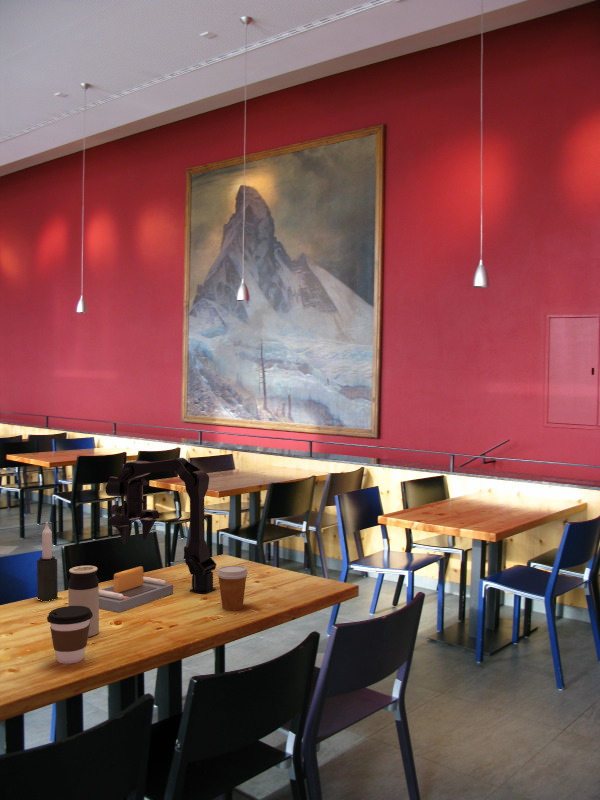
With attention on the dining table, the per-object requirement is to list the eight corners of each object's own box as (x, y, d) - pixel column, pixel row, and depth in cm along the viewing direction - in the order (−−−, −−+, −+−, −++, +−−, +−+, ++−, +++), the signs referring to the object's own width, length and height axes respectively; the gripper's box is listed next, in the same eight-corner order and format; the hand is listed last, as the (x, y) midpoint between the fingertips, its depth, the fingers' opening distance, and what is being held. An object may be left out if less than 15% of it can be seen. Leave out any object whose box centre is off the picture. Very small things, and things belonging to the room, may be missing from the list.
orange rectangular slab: (143, 584, 241) (143, 566, 241) (118, 592, 232) (118, 573, 232) (138, 583, 242) (138, 565, 242) (113, 591, 233) (113, 573, 233)
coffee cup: (55, 670, 177) (54, 620, 177) (41, 657, 186) (41, 609, 185) (99, 660, 183) (99, 612, 183) (84, 648, 192) (83, 602, 192)
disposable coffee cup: (210, 609, 226) (210, 570, 225) (228, 601, 234) (227, 563, 234) (237, 613, 221) (237, 573, 221) (253, 605, 230) (253, 567, 229)
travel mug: (104, 633, 203) (103, 568, 203) (77, 640, 198) (76, 573, 198) (89, 627, 209) (89, 563, 209) (63, 633, 204) (63, 568, 203)
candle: (45, 602, 233) (44, 523, 233) (35, 599, 236) (35, 521, 236) (59, 598, 237) (58, 521, 237) (49, 596, 241) (49, 519, 240)
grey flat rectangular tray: (173, 593, 243) (173, 579, 243) (119, 612, 223) (119, 596, 223) (137, 586, 252) (137, 572, 251) (82, 604, 231) (82, 589, 231)
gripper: (137, 492, 269) (138, 535, 269) (97, 499, 253) (98, 544, 254) (160, 494, 263) (160, 538, 263) (120, 501, 247) (121, 548, 247)
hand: (135, 542), depth 257 cm, fingers open, 9 cm apart
